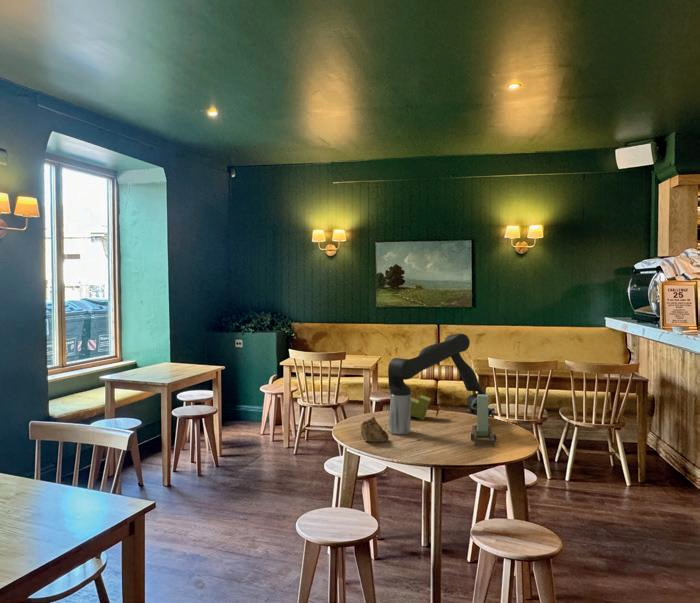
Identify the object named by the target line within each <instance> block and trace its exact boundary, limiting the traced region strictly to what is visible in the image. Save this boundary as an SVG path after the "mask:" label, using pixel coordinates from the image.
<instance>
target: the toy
mask: <svg viewBox="0 0 700 603" xmlns="http://www.w3.org/2000/svg"><path fill="white" fill-rule="evenodd" d="M431 399H432V398H430V397H428V396H425V395H422V394H421V395H420V396H419V399H416V398H414V397H411V418H417V419H419V420H423V421H424V420H425V417H426V416H427V415H426V414H427V411H428V409H430V410H433V411H436V414H435V417H438V415H439V412H440V408H441V405H438V406H436V405H435V404H434V405H433V404H431V403H430V402H431Z"/></svg>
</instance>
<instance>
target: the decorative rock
mask: <svg viewBox="0 0 700 603" xmlns="http://www.w3.org/2000/svg"><path fill="white" fill-rule="evenodd" d="M360 429H361V430H360V435H361V437H362V439H363V440H364V441H367V442H371V443H373V442H374V443H375V442H379V441H380V443H381V442H384V441H387V442H388V441H389V437H390V436H389V435H388V433H387V432H386V431H385V430H384V429H383V427H382V426H381V425H380V424H379V423H378V422H377V420H376V418H375V416H372V417H371V418H370V419H367V420H365V421H363V422H362V423H361V424H360ZM384 443H385V442H384Z"/></svg>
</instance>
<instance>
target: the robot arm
mask: <svg viewBox="0 0 700 603" xmlns="http://www.w3.org/2000/svg"><path fill="white" fill-rule="evenodd" d="M469 347H470V338H469V336H468V335H467V334H464V333H455V334H451V335H450V334H449V335H447V336H446V337H445V339H444V341H441V342H436V343H433V344H430V345H428V346H426V347H424V348H422V349H421V350H420V351H419V354H418V355H417V356H415V357H412V358H402V357H401V358H400V357H394V358H391V360H390V361H389V364H388V366H387V372H388V373H387V375H388V376H387V377H388V389H389V393H390V394H389V396H390V398H389V399H390V403H389V407H390V408H389V409H388V410H389V411H388V412H389V414H388V416H389V418H388V420H389V422H388V426H389V427H388V428H389V429H388V430H389V432H391V433H390V434H393V435H408V434H411V422H412V420H411V419H412V417H411V398H412V397H411V396H412V389H411V387H410V386H408V385H407V384H406V382H405V380H406V381H407V380H410V379H412V378H413V377H415V376H417V375H418V374H420V373H421V372H423V371H425V370H426V369H429V368H430V367H433V366H436V365H438V364H440V363H442V362H443V361H445V360H447V359H449V358H451V360H452V362H453V364H454V365H455V367H456V369H457V370H458V372H459V375H460V376H461V380H462V382H463V384H464V388H465V390H466V391H467V392H477V393H473V394H471V395H469V396H467V399H466V401H467V402H466V404H467V405H468V406H467V408H466V413H467V414H471V415H474V416H476V417H477V394H483V395H487V394H486V392H485V391H484V390H483V388H482V386H481V385H480V383H479V380H478V377H477V375H476V373H475V370H473V368H472V367H471V366H470V365H469V364H468V363H467V362H466V361H465V359H463V357H462V355H461V353H463V352H466V351H467V350H468V349H469ZM489 401H490V399H489V398H488V403H490V402H489ZM495 410H496V409H495V408H494V407H492V408H490V407H488V417H489V416H493V415H496V414H495V412H496V411H495Z"/></svg>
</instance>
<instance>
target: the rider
mask: <svg viewBox="0 0 700 603" xmlns="http://www.w3.org/2000/svg"><path fill="white" fill-rule="evenodd" d="M488 399H489V395H488V394H486V395H483V394H477V416H476V426H477V428H476V433H477V436H486V437H489V431H488V426H489V416H488V408H489V402H488Z"/></svg>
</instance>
